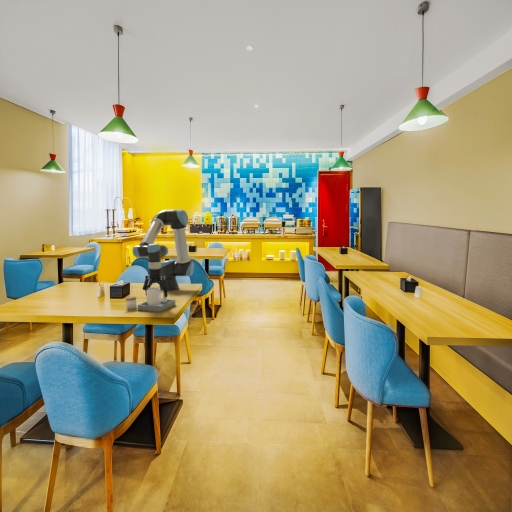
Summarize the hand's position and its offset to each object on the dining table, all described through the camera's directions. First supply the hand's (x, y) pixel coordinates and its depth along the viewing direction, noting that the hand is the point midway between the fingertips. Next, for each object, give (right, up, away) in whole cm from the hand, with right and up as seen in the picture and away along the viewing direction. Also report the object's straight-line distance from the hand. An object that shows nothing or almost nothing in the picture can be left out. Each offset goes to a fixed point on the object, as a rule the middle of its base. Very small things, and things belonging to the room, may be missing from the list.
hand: (156, 301), depth 207 cm
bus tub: (0, -4, +1) cm, 4 cm away
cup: (0, -2, 0) cm, 2 cm away
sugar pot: (-17, -4, +1) cm, 17 cm away
